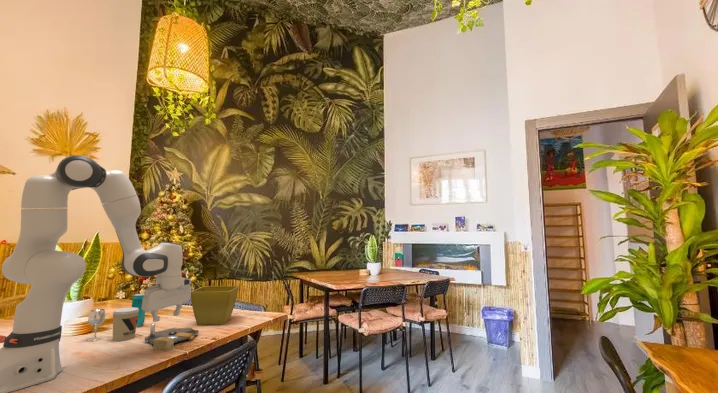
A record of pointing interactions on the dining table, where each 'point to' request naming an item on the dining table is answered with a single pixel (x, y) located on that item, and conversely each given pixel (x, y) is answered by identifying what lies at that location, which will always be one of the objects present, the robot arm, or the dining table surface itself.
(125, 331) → the coffee cup
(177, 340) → the sprocket
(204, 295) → the flower pot
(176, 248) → the robot arm
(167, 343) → the tall wooden block
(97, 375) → the dining table surface
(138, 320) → the beverage can
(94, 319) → the wineglass
